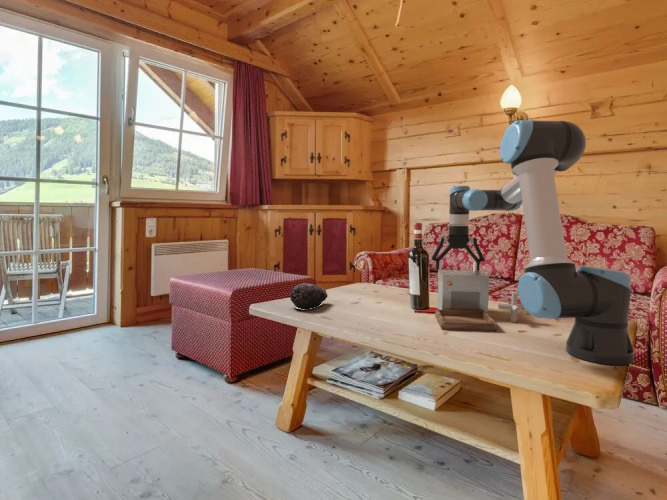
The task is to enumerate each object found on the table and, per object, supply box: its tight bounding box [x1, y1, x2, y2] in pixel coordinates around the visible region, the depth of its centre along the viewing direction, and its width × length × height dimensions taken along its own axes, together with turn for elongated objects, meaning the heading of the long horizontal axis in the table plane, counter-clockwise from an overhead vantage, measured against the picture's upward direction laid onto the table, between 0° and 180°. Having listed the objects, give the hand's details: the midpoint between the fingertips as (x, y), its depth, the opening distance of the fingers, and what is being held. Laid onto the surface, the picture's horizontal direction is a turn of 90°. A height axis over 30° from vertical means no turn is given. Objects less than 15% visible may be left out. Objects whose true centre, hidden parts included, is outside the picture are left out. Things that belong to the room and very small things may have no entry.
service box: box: [437, 269, 490, 315], centre depth 153 cm, size 13×16×15 cm
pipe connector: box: [497, 291, 526, 323], centre depth 141 cm, size 10×10×10 cm
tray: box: [434, 308, 498, 333], centre depth 139 cm, size 17×17×2 cm
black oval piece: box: [289, 282, 328, 309], centre depth 163 cm, size 10×18×10 cm, turn 153°
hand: (456, 278), depth 165 cm, fingers open, 13 cm apart
